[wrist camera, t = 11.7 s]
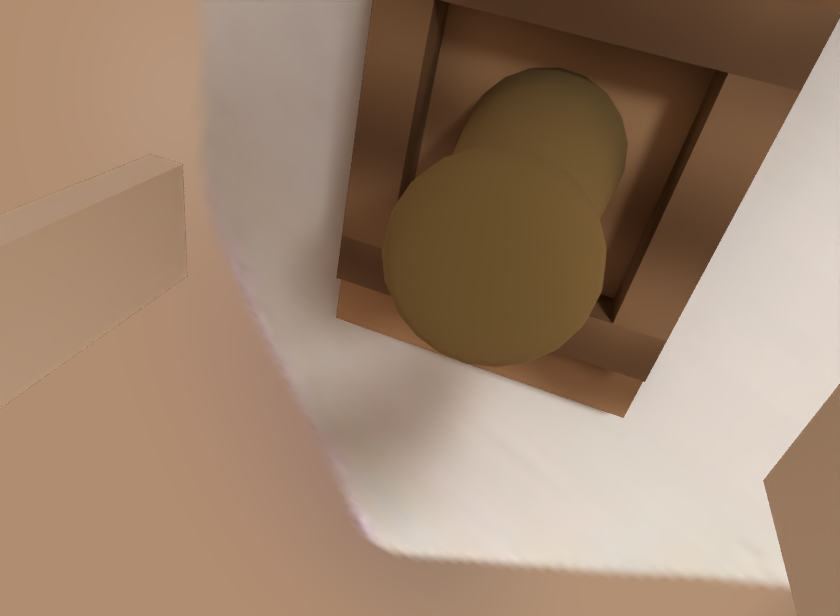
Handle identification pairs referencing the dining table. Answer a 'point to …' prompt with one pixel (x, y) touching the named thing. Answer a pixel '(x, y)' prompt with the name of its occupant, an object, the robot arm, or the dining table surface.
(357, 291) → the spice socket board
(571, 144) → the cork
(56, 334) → the robot arm
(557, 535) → the dining table surface
